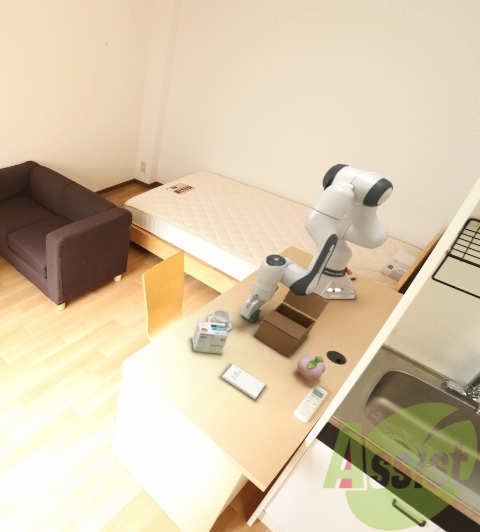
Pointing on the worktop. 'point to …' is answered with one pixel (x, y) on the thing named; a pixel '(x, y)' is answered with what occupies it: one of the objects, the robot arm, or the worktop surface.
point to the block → (254, 316)
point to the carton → (284, 329)
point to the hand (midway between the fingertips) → (251, 314)
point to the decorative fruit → (311, 367)
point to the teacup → (221, 318)
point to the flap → (306, 304)
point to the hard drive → (243, 381)
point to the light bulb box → (209, 337)
